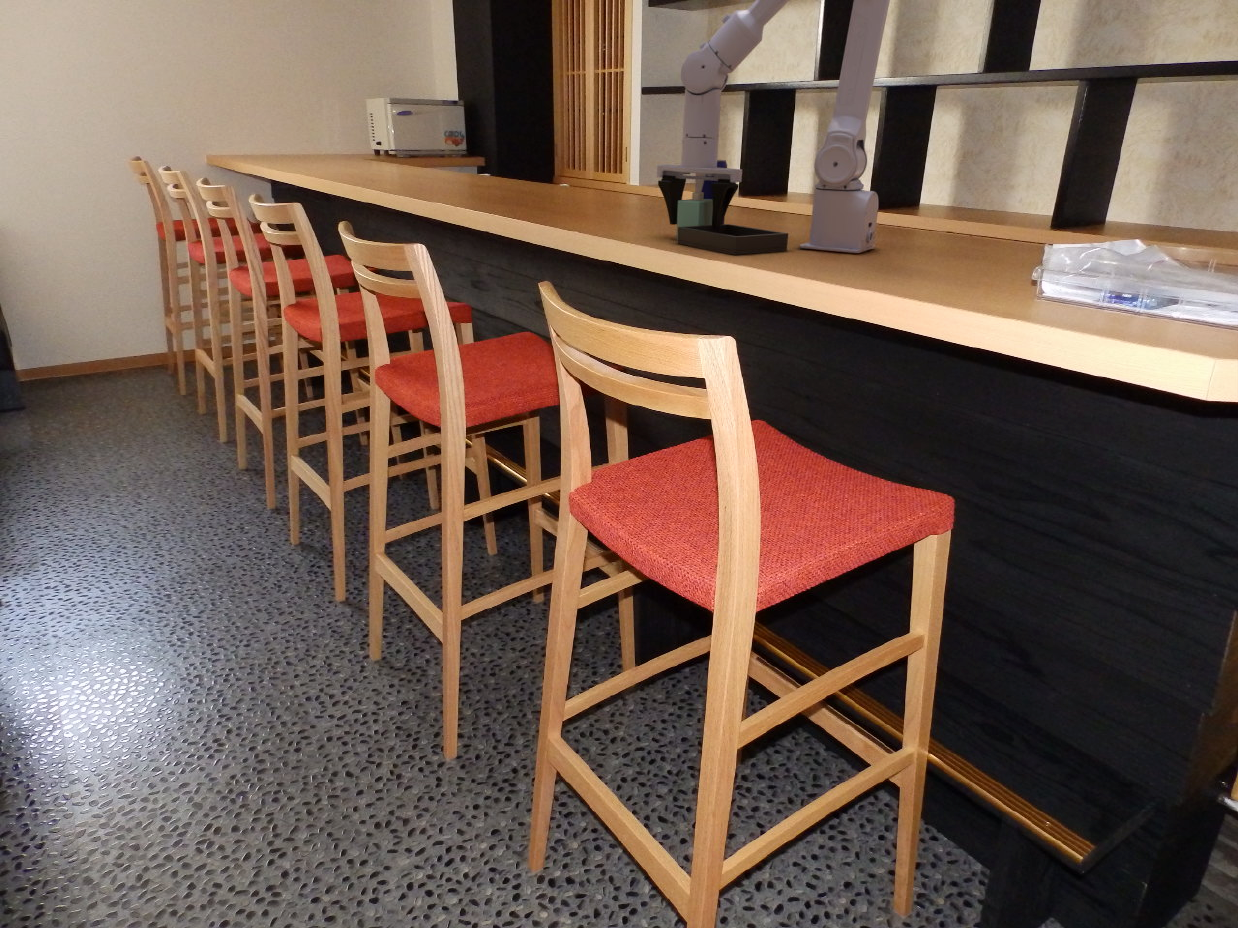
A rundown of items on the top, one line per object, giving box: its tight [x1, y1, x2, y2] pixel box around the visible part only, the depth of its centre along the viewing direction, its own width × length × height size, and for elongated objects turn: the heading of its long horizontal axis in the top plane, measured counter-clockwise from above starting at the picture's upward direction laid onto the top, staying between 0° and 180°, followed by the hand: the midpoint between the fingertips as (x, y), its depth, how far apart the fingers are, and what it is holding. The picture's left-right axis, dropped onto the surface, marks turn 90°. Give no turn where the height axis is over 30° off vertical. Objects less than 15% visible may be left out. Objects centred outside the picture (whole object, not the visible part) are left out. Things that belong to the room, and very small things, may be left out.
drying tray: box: [676, 223, 789, 256], centre depth 130 cm, size 14×10×3 cm
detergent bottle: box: [675, 191, 713, 241], centre depth 137 cm, size 4×6×7 cm, turn 146°
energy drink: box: [694, 159, 728, 224], centre depth 146 cm, size 5×5×12 cm
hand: (695, 226), depth 138 cm, fingers open, 7 cm apart
